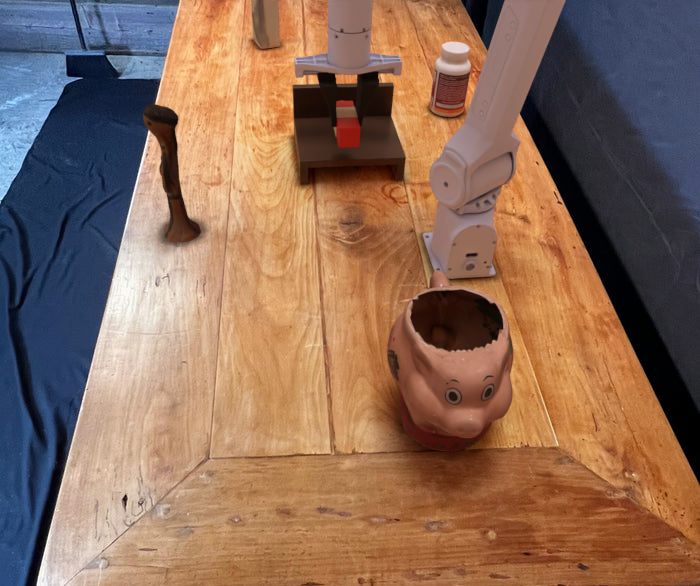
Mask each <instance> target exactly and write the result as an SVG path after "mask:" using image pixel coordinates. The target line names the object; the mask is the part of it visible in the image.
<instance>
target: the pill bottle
mask: <svg viewBox="0 0 700 586" xmlns="http://www.w3.org/2000/svg"><path fill="white" fill-rule="evenodd" d="M440 55H441V56H439V57H438V58H437V60H435V63H434V69H433V78H432V85H431V92H430V99H429V100H430V101H429V109H430V111H431V112H432V113H433V114H435V115H436V116H440V117H444V118H453V117H458V116H460V115H461V114H463V112H464V110H465V104H466V99H467V93H468V89H469V82H470V75H471V71H472V70H471V69H472V64H471V61H470V60H469V59H468V58H469V56H470V46H469V45H468V44H466V43H463V42H460V41H446V42H444V43H443V44H442V45H441V50H440Z"/></svg>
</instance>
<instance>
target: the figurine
mask: <svg viewBox="0 0 700 586" xmlns="http://www.w3.org/2000/svg"><path fill="white" fill-rule="evenodd" d="M142 115H143V124H144V126H145V128H146V129H147V130H148V131H149V132H150V133H151V134H152V135H153V136H154V137H155V139H156V140H157V143H158V146H159V148H160V152H161V155H160V164H159V167H158V168H159V171H158V172H159V174H160V176H161V182H162V183H161V184H162V188H163V191H164V193H165V194H166V198H167V205H168V209H169V221H168V223H167V224H166V226H165V227H164V229H163V235H164V238H165V239H166V240H167V241H169V242H172V243H177V242H183V243H184V242H190V241H193V240H194V239H197V237H199V236H200V235H201V233H202V229H201V226H200V224H199V223H198V222H196V221H195V220H193V219H191V218H190V217H189V215H188V211H187V208H186V204H185V200H184V196H183V192H182V187H181V181H180V165H179V155H178V151H179V145H178V139H177V134H176V129H177V125H179V115H178V114H177V113H176V111H175V110H174V109H172V108H170V107H168V106H164V105H160V104H156V103H151V102H150V103H148V104H146V105H145V106H144V108H143V112H142Z"/></svg>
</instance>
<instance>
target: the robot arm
mask: <svg viewBox="0 0 700 586" xmlns="http://www.w3.org/2000/svg"><path fill="white" fill-rule="evenodd" d="M566 1H567V0H504V1H503V4H502V8H501V11H500V14H499V16H498V19H497V23H496V25H495V29H494V32H493V34H492V37H491V39H490V43H489V46H488V49H487V53H486V55H485V59H484V62H483V64H482V68H481V71H480V73H479V77H478V80H477V83H476V86H475V89H474V91H473V95H472V98H471V100H470V104H469V107H468V110H467V113H466V116H465V120H464V122H463V124H461V126H460V127H459V128H458V129H457V130H456V132H455V133H454V134H453V135H452V136H451V137H450V138H449V139H448V140H447V141H446V142H445V144H444V145H443V149H442V152H441V154H440V156H438V157H437V158H436V159H435V160H434V161H433V162H432V164H431V165H430V168H429V174H428V179H429V181H428V182H429V186H430V189H431V192H432V193H433V195H434V197H435V199H436V200H437V206H436V210H435V211H436V212H435V217H434V223H433V230H432V231H429V232H423V233H422V239H423V242H424V245H425V248H426V252H427V255H428V258H429V260H430V264H431V266H432V269H433V273H434V272H435V271H436V270H439V271H442V272H443V273H445V275H446V276H447V277H448V278H449V280H451V279H467V278H484V277H485V278H486V277H487V278H488V277H494V276H496V269H495V267H494V265H493V260H494V256H495V252H496V248H497V244H498V241H499V240H498V239H499V238H498V231H497V229H496V225H495V222H494V214H495V209H496V205H497V201H498V197H499V196H500V195H501V193H502V188H503V186H504V185H507V184H508V183H510V182H511V181H512V180H513V178H514V176H515V174H516V171H517V167H518V166H517V155H518V150H519V148H520V146H521V143H522V142H521V140H520V138H519V137H518V136H517V134H516V132H515V131H514V128H515V125H516V124H517V121H518V119H519V117H520V113H521V111H522V109H523V106H524V104H525V101H526V99H527V96H528V94H529V92H530V89H531V87H532V83H533V82H534V79H535V77H536V74H537V72H538V70H539V67H540V65H541V63H542V59H543V58H544V55H545V52H546V50H547V46H548V45H549V43H550V40H551V37H552V36H553V33H554V30H555V27H556V26H557V23H558V21H559V18H560V16H561V13H562V11H563V8H564V6H565V3H566ZM373 10H374V0H327V48H326V49H327V50H326V51H327V52H323V53H318V54H313V55H312V54H311V55H307V56H296V57H294V59H293V63H294V64H293V65H294V66H293V67H294V76H295V78H296V79H301V78H304V76H316V77H317V81H318V84H319V86H320V88H321V91H322V93H323V95H324V97H325V99H326V102H327V105H328V108H329V112H330V122H331V126H332V127H337V113H336V102H337V90H338V87H337V84H338V82H337V76H338V75H339V76H342V75H344V76H356V83H357V100H356V113H357V116H358V121H359V125H360V126H362V122H363V118H364V115H365V112H366V109H367V107H368V105H369V102H370V101H371V99H372V97H373V95H374V94H375V92H376V91H377V89H378V87H379V83H381V82H380V77H379V76H380V75H382V74H383V75H385V74H389V75H393V76H396V77H397V76H398V77H399V76H401V75H402V69H403V59H402V58H401V56H400V55H392V54H382V53H375V52H371V44H372V42H371V41H372V27H373V26H372V24H373ZM336 75H337V76H336Z"/></svg>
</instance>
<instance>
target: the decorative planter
mask: <svg viewBox="0 0 700 586" xmlns="http://www.w3.org/2000/svg"><path fill="white" fill-rule="evenodd" d="M389 331H390V332H389V336H388V339H387V346H386V347H387V348H386V356H387V357H386V358H387V363H388V368H389V372H390V375H391V376H392V378H393V380H394V381H395V383H396V384H397V385H398V390H399V404H398V409H399V416H400V419H401V422H402V426H403V430H404V431H405V433H406V435H407V436H408V437H409V438H411V439H412V440H413V441H415V442H417V444H420V445H421V446H423V447H425V448H428V449H432V450H436V451H442V452H454V451H455V452H456V451H461V450H464V449H468V448H470V447H472V446H474V445H475V444H477V443H478V442H479V441H481V440H482V439H483V438H484V436H485V435H486V434H487V432H488V431H489V430H490V428H491V426H492V424H493V422H495V421H499V420H501V419H503V418H504V417H505V416H506V415H507V413H508V411H509V410H510V407H511V405H512V401H513V393H514V392H513V385H512V380H511V372H512V368H513V363H514V345H513V340H512V336H511V332H510V322H509V319H508V317H507V314H506V311H505V310H504V308H503V307H502V305H501V304H500V303H499V302H498V300H496V299H495V298H494V297H493V296H491V295H489V294H488V293H486V292H484V291H482V290H479V289H476V288H473V287H468V286H463V285H452V283H451V281H450V279H449V278H448V277H447V276H446V275H445V273H443V272H442V271H439V270H436V271H435V272H434V271H433V273H432V274H431V276H430V277H429V285H428V288H427V289H424V290H422V291H419V292H418V293H416V294H415V295H414V296H412V298H410V300H409V301H408V303H407V306H406V307H405V309H404V311H403V312H402V313H401V314H399V315H398V316H397V318H396V319H395V320H394V322H393V324H392V326H391V328H390V330H389Z"/></svg>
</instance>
